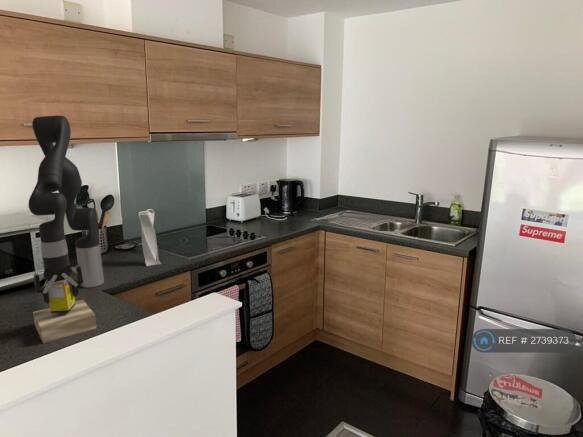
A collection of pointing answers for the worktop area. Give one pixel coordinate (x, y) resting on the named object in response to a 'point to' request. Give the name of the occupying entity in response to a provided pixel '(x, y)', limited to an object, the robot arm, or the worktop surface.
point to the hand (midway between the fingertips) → (61, 299)
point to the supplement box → (61, 296)
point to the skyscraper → (149, 238)
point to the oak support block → (64, 322)
